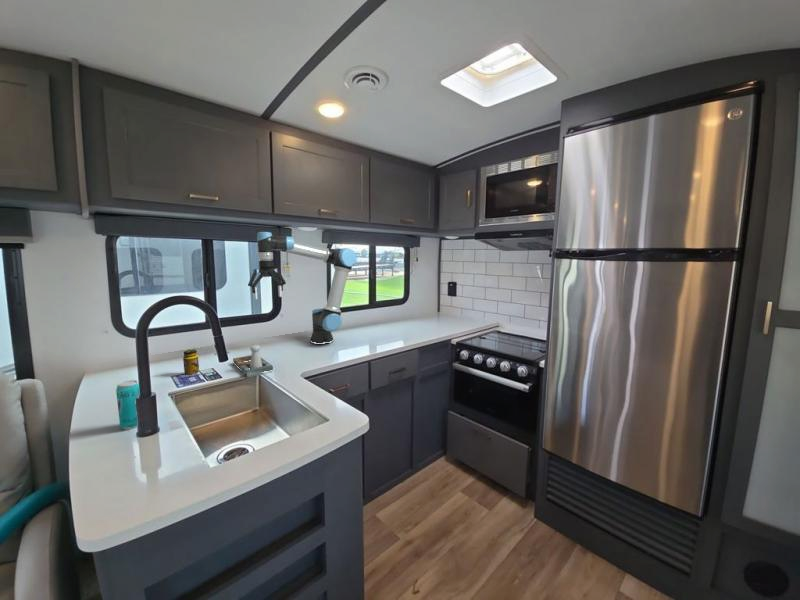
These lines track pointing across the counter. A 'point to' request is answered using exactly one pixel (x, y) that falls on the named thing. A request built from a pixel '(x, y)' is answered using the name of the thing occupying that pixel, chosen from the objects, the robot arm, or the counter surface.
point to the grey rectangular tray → (246, 365)
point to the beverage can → (127, 403)
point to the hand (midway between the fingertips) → (268, 297)
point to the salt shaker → (255, 357)
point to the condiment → (190, 362)
